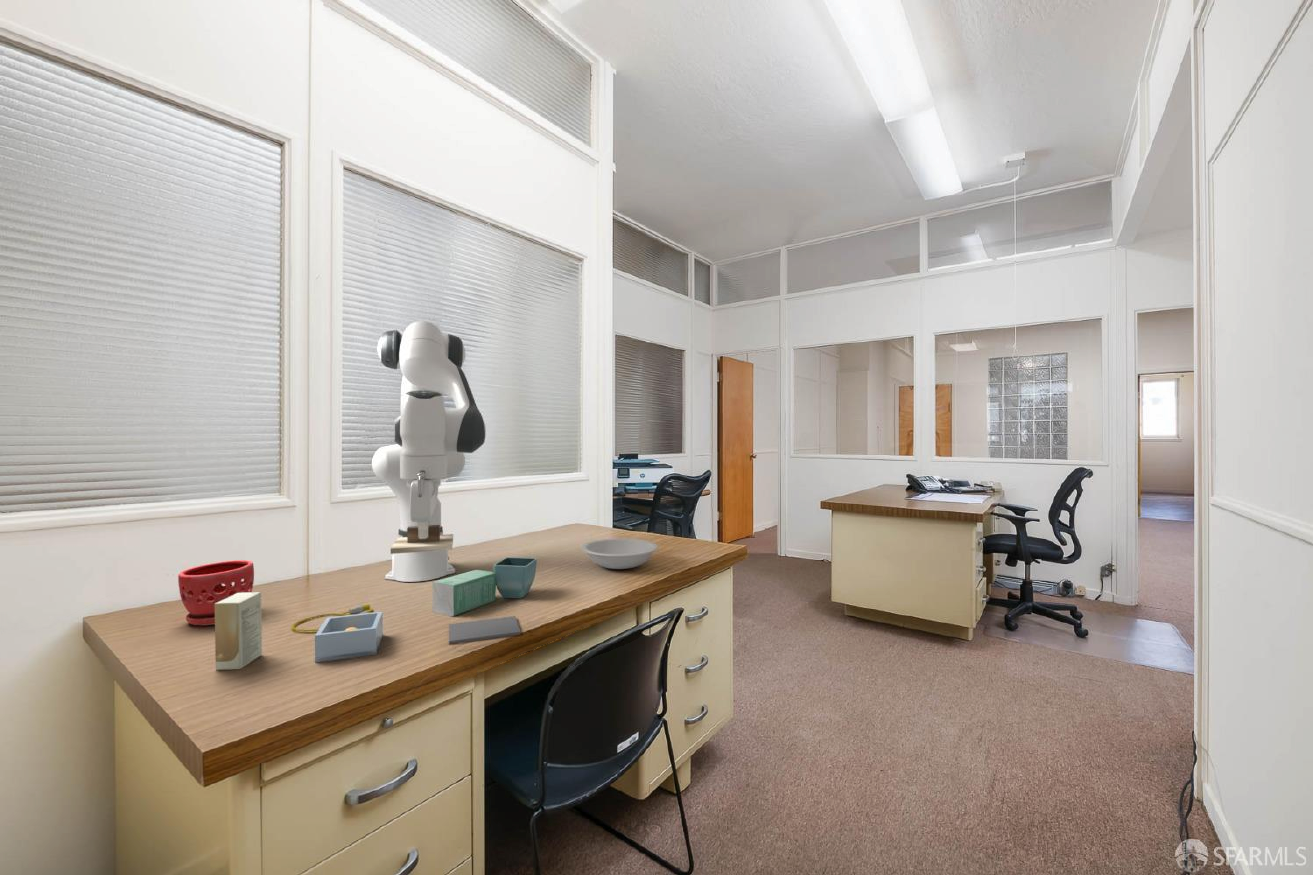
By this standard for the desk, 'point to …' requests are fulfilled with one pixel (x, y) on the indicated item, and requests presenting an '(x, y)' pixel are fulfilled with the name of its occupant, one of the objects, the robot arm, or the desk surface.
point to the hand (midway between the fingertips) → (424, 536)
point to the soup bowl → (619, 552)
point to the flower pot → (515, 576)
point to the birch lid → (422, 541)
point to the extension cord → (358, 609)
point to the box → (463, 592)
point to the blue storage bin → (349, 636)
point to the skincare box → (238, 630)
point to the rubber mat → (483, 629)
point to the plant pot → (213, 587)
